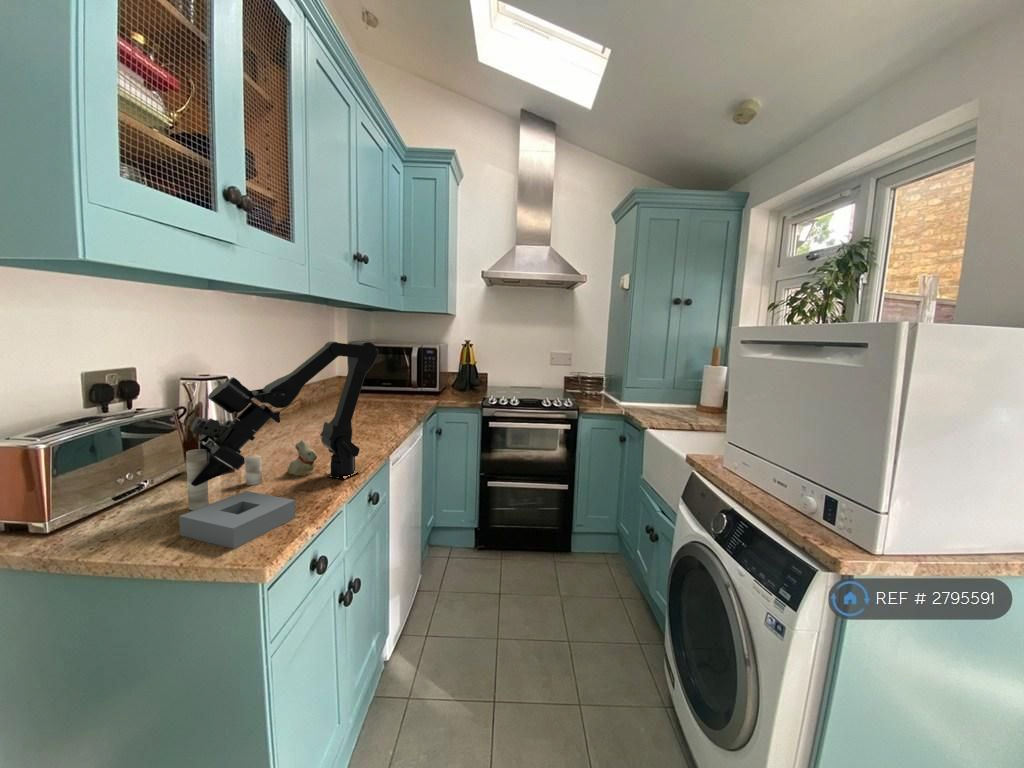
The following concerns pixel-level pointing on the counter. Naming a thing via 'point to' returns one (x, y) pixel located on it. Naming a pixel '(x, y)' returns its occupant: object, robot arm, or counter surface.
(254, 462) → the short pin
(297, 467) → the chocolate bunny
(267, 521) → the socket block
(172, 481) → the counter surface
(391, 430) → the counter surface
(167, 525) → the counter surface
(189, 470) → the long pin
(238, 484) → the counter surface
